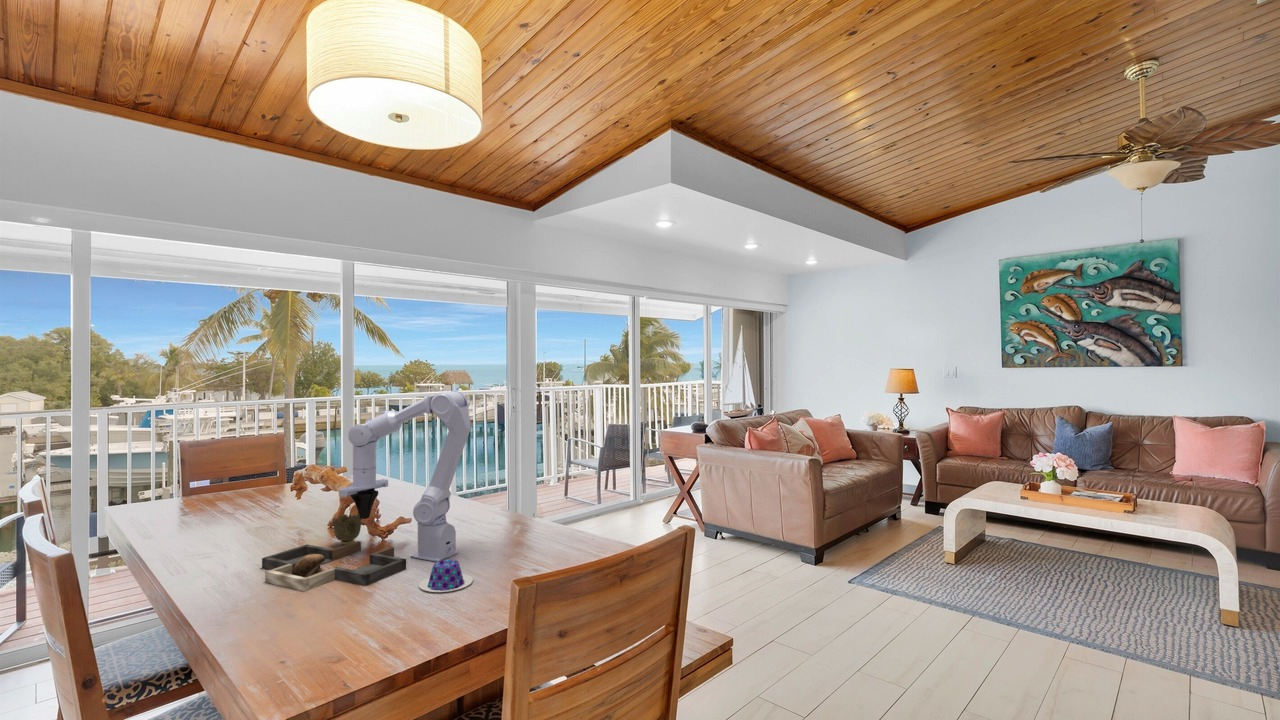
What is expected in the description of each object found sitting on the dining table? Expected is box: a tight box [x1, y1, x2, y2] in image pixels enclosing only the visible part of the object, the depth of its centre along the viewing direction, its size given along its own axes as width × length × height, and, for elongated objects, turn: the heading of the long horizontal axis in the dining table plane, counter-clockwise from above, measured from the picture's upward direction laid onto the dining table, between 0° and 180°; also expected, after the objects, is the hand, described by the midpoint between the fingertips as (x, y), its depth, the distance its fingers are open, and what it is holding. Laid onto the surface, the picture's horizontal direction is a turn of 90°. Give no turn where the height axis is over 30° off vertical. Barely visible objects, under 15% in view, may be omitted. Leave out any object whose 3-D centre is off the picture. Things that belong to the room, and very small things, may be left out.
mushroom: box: [292, 554, 325, 578], centre depth 146 cm, size 8×8×6 cm
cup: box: [332, 513, 363, 547], centre depth 172 cm, size 8×7×8 cm
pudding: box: [418, 559, 474, 593], centre depth 142 cm, size 12×12×5 cm
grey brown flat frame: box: [261, 540, 407, 592], centre depth 153 cm, size 33×26×2 cm
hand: (364, 518), depth 165 cm, fingers closed
